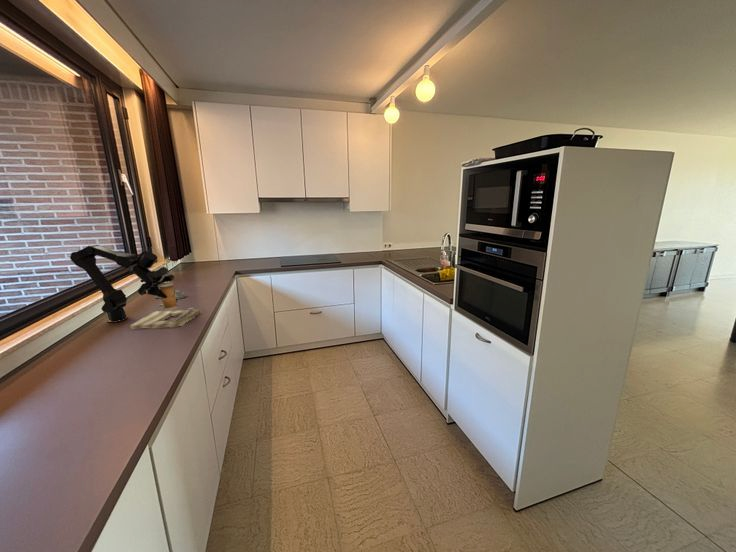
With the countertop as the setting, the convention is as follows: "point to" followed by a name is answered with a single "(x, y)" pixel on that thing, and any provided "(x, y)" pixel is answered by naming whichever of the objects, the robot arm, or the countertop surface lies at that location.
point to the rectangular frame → (157, 319)
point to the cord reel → (168, 295)
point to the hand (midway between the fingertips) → (170, 295)
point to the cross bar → (182, 315)
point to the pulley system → (177, 295)
